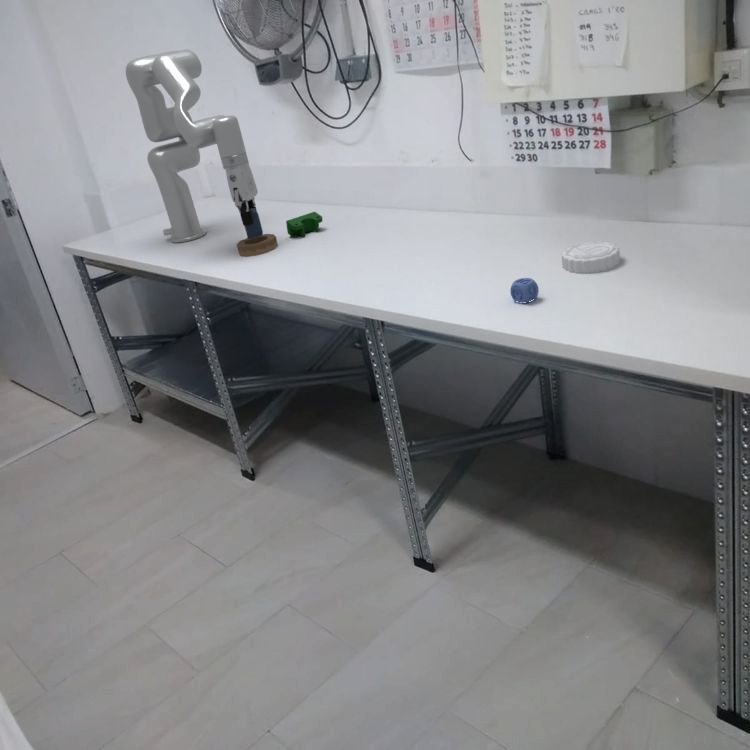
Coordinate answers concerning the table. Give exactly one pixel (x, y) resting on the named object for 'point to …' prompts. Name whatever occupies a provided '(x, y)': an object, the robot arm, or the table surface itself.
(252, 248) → the wooden ring
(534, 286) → the decorative dice
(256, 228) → the vaping device
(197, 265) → the table surface
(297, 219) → the clamp
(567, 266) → the mooncake
